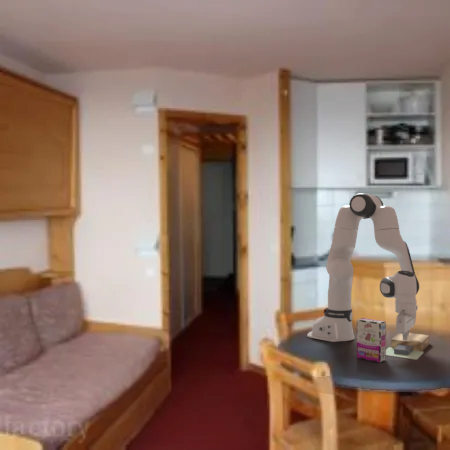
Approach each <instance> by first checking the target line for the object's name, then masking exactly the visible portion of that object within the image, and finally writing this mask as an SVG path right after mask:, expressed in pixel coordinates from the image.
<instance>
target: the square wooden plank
mask: <svg viewBox="0 0 450 450" xmlns="http://www.w3.org/2000/svg"><path fill="white" fill-rule="evenodd" d="M390 342H391V343H390V344H391V346H390V347H391V348H396V347H397V346H398V345H399V344H402V345H410V346H413V350H414V351H422V352H424V350H425V349H426V348H427V347H428V346H429V345H430V334H429V335H428V334H422V333H421V334H419V333H412V332H409V338H408V339H407V340H403V335H402V334H401V333H396V335H394V337H392V338H391V340H390Z"/></svg>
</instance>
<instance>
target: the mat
mask: <svg viewBox="0 0 450 450" xmlns="http://www.w3.org/2000/svg"><path fill="white" fill-rule="evenodd" d="M424 352H425V351H414V350H413V351H412V352H411V353H410V354H409V355H402V354H394V348H391V346H390V347H387V348H386V357H393V358H402V359H408V360H409V359H410V360H415V361H417V360H419V358H421V356H422V355H423V354H424Z"/></svg>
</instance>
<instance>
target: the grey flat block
mask: <svg viewBox="0 0 450 450" xmlns="http://www.w3.org/2000/svg"><path fill="white" fill-rule="evenodd" d="M412 351H413V346H410V345H402V344H399V345H398V346H397V347H396V348H394V354H402V355H409V354H410V353H411V352H412Z"/></svg>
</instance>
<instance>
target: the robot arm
mask: <svg viewBox="0 0 450 450" xmlns="http://www.w3.org/2000/svg"><path fill="white" fill-rule="evenodd" d="M336 215H337V216H336V219H335V221H334V229H333V235H332V240H331V245H330V249H329V252H328V257H327V262H326V272H327V274H328V275H329V280H328V281H329V282H328V290H327V306H326V307H325V308H324V309H323V310H322V313H323V316H322V317H320V318H319V319H317V320H316V321H315V322H313V324H312V326H311V331H309V332H308V333H307V338H311V339H315V340H316V339H317V340H321V341H327V342H330V343H336V342H337V343H338V342H348V341H353V340H355V337H356V336H355V335H354V330H353V322H352V321H353V308H352V289H353V283H354V282H353V279H354V266H353V264H352V262H351V261H352V259H353V258H352V257H353V254H354V251H355V248H356V243H357V237H358V232H359V225H360V222H361V220H362V219H363V220H366V219H370V220H371V221H372V223H373V231H374V240H375V242H376V244H377V245H378V246H379V247H380V248H381V249H382V250H385V251H388V252H390V253H392V254H394V256H396V258H397V259H398V263H399V268H400V270H398V271H397V272H396V273H395V274H393V275H389V276H385V277H383V278H382V279H381V280H380V284H379V291H380V293H381V296H383V297H384V298H388V299H395V303H394V307H395V310H394V312H395V313H397V314H398V315H397V316H396V320H395V332H396V334H399V333H401V334H402V335H403V340H407V339H408V338H409V333H410V330H411V329H412V328H413V327H414V326H415V324H416V320H417V317H416V316H417V311H418V304H417V298H416V296H417V294H418V293H419V290H420V281H419V280H418V278H417V275H416V272H415V268H414V264H413V261H412V257H411V253H410V249H409V246H408V244H407V242H406V241H404V239H403V237H402V236H401V232H400V224H399V219H398V215H397V212H396V210H395V208H394V207H393V206H390V205H384V203H383V201H382V199H381V198H380V197H379V196H377V195H373V194H371V193H366V192H365V193H364V192H363V193H362V192H361V193H356V194H354V195H353V196H352V197H351V198H350V200H349V205H344V206H341V207H340V208H339V210H338V212H337V214H336Z"/></svg>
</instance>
